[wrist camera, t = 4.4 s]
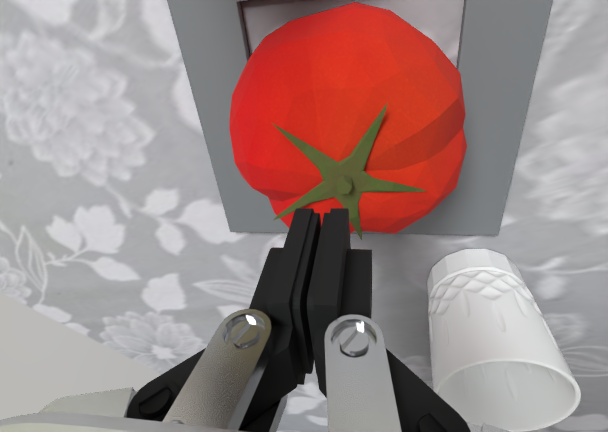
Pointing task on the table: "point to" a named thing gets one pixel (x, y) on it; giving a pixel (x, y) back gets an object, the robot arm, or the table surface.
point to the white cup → (495, 346)
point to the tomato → (350, 119)
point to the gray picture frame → (476, 92)
